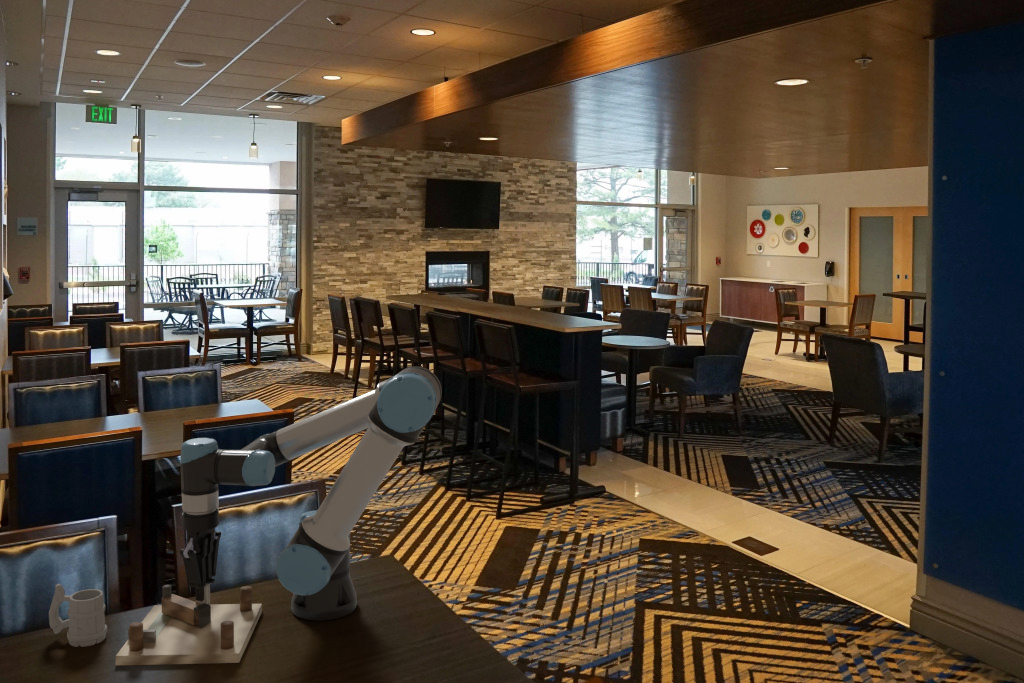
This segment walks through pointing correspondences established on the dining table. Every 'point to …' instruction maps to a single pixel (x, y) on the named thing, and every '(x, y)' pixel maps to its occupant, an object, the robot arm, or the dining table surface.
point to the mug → (80, 616)
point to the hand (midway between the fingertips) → (203, 612)
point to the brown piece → (185, 608)
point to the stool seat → (192, 636)
